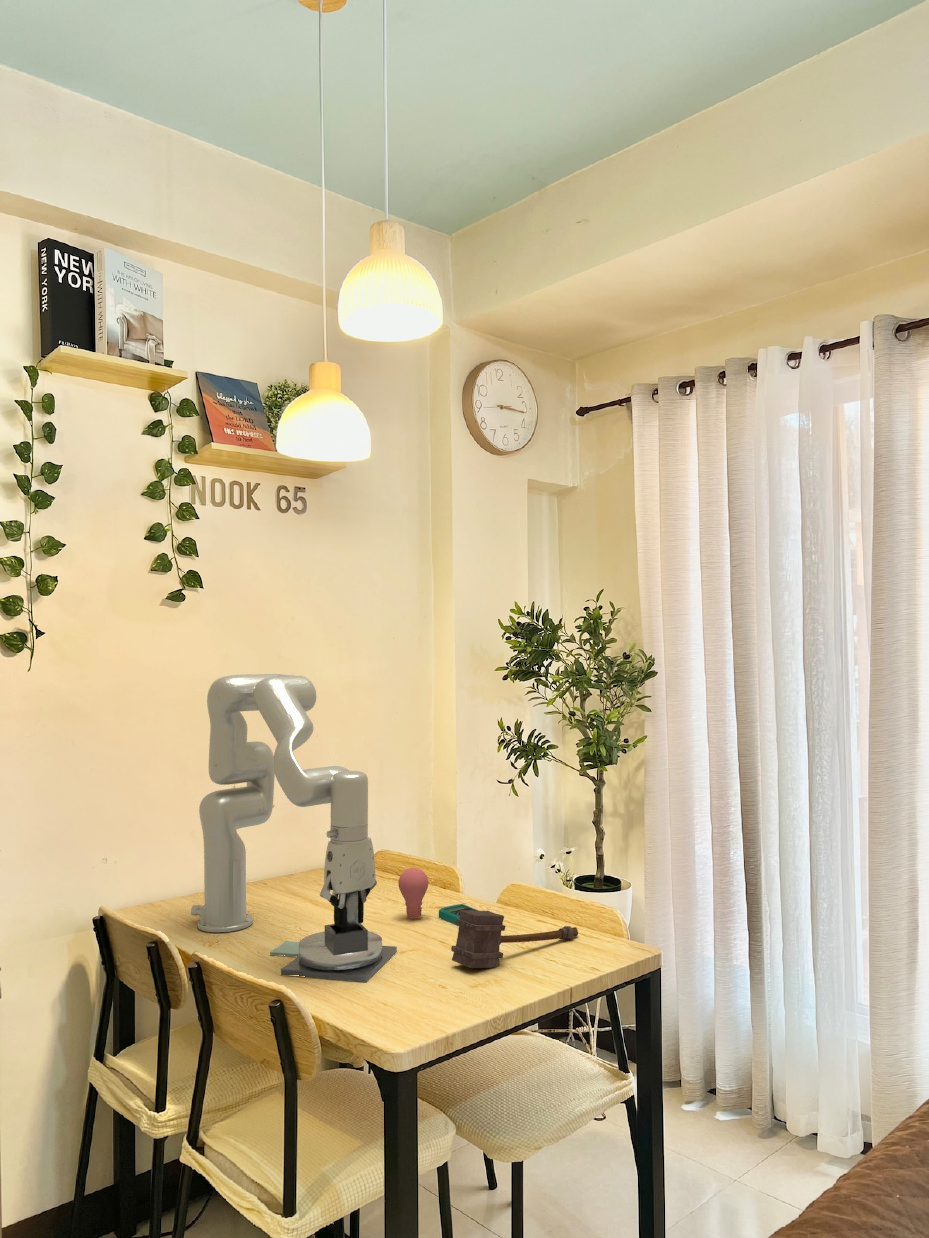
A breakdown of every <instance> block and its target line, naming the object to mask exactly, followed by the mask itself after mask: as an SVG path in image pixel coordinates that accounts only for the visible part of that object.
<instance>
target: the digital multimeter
mask: <svg viewBox="0 0 929 1238" xmlns="http://www.w3.org/2000/svg"><path fill="white" fill-rule="evenodd" d="M461 910H474V911H480V910H479V909H477V908H473V907H471V906H468V905H466V904H464V903H460V904H453V905H448V906H444V907H441V908H439V910H438V918H439V919H440V918H441V920H442V921H445V920H446V921H445V922H449V923H451V924H453V925H455V926H457V927H459V925H458V924H456V919H460V911H461Z"/></svg>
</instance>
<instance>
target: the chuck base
mask: <svg viewBox="0 0 929 1238" xmlns="http://www.w3.org/2000/svg"><path fill="white" fill-rule="evenodd" d="M396 952H397V953H398V946H394V945H393V946H392V945H382V957H381V958H380V959H379V960H377V961H376V962H374V963H372V964H369V965H366V966H362V967H358V968H353V969H345V970H322V969H315V968H310V967H307V966H305V965H303V964H302V963H300V961H299V956H298V957H294V959H292V960H291V961H290V962H289V963H287V964H286V965H284V966H283V967H282V968H281V969H280V976H282V975H299V976H305V977H304V978H306V977H312V978H311V979H318V978H320V979H319V980H330V979H334V980H333V981H342V982H343V981H345V982H357V983H367V982H368V981H369V980H371V979H372V977H373V976H374V975H375V974H377V973H378V972H379V970H380V969H382V968H383V967H384V966H386V965H385V963H386V962H387V961H388V960H389V959H390V958H391V957H392V956H393V955H394V956H395V955H396V954H397V953H396ZM395 953H396V954H395ZM394 956H393V957H394ZM393 957H392V958H393ZM392 958H391V959H392ZM391 959H390V960H391ZM390 960H389V961H390ZM389 961H388V962H389ZM388 962H387V963H388ZM387 963H386V964H387Z"/></svg>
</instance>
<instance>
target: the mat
mask: <svg viewBox="0 0 929 1238" xmlns="http://www.w3.org/2000/svg"><path fill="white" fill-rule="evenodd" d="M299 942H300V941H290V940H285V941H283V943H281V944H279V945H278V946H277V947H275V948H274V949H272V950H271V951H270V952H269V956H275V955H283V956H282V957H288V956H297V957H298V956H299ZM284 955H285V956H284Z"/></svg>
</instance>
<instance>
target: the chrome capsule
mask: <svg viewBox="0 0 929 1238" xmlns="http://www.w3.org/2000/svg"><path fill="white" fill-rule="evenodd" d="M344 907H345V908H346V927H345V928H341V932H349V931H356V930H359V922H358V891H355V892H351V893H346V894H345V902H344Z"/></svg>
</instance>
